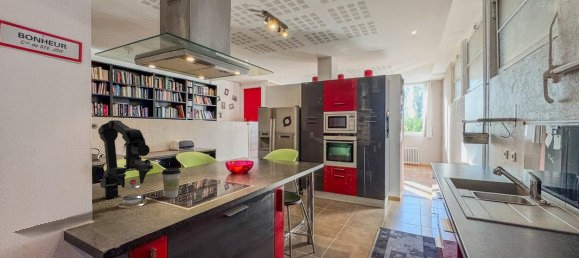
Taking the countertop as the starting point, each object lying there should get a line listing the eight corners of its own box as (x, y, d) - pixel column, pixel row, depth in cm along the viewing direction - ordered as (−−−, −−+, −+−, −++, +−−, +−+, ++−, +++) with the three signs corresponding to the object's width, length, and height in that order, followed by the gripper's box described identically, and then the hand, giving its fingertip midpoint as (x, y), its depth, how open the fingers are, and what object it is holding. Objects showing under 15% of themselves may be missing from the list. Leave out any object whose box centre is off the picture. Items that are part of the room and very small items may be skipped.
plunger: (122, 188, 122) (122, 179, 122) (134, 185, 128) (134, 177, 128) (130, 189, 120) (130, 181, 120) (142, 186, 125) (142, 178, 125)
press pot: (112, 206, 121) (112, 198, 121) (137, 199, 132) (137, 192, 132) (129, 209, 116) (128, 201, 116) (152, 202, 128) (152, 194, 128)
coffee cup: (175, 198, 133) (175, 171, 133) (157, 198, 133) (157, 171, 133) (184, 193, 143) (184, 168, 143) (167, 193, 143) (167, 167, 143)
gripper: (124, 157, 112) (124, 192, 112) (160, 153, 129) (160, 183, 129) (108, 156, 116) (109, 189, 116) (145, 152, 133) (145, 181, 134)
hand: (132, 185), depth 124 cm, fingers open, 9 cm apart
